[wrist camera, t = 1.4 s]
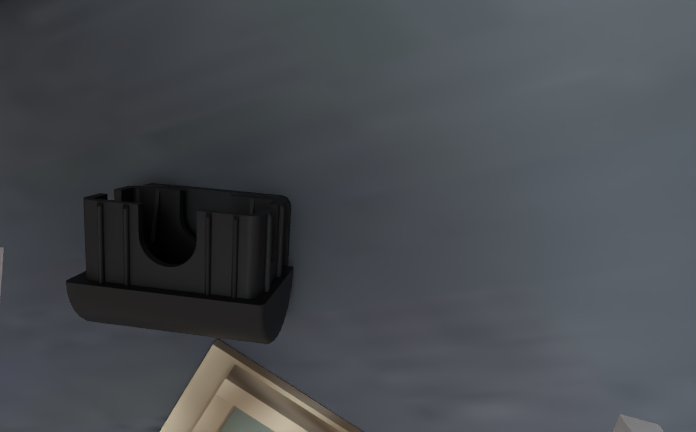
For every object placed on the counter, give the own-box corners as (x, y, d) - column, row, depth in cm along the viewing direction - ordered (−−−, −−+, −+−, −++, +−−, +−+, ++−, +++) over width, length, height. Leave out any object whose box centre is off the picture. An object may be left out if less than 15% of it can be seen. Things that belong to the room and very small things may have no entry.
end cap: (137, 293, 32) (65, 340, 25) (136, 181, 31) (59, 200, 24) (294, 312, 31) (261, 366, 24) (300, 196, 29) (267, 221, 23)
